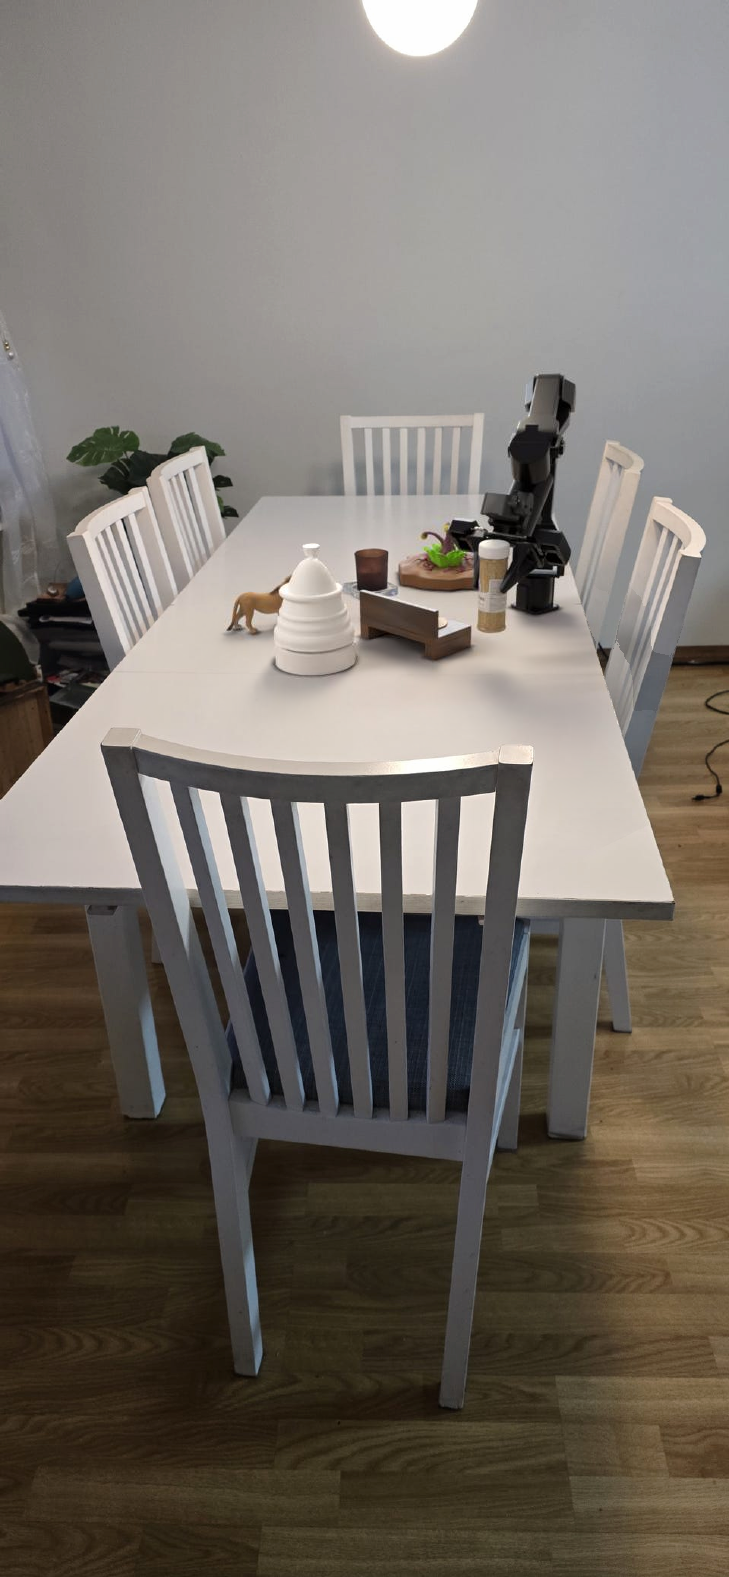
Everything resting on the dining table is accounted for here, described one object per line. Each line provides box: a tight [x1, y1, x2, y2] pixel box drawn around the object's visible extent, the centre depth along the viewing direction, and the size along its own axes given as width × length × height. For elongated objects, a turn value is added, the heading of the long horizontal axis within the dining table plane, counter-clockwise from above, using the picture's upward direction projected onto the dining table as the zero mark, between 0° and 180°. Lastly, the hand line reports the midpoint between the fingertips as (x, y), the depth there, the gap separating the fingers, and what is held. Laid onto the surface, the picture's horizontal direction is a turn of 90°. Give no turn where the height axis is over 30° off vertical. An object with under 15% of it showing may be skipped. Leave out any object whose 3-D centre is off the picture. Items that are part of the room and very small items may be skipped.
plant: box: [398, 521, 479, 591], centre depth 197 cm, size 20×20×11 cm
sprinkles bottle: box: [476, 540, 511, 634], centre depth 150 cm, size 5×5×13 cm
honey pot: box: [273, 543, 357, 676], centre depth 155 cm, size 13×13×18 cm
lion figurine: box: [226, 573, 293, 634], centre depth 172 cm, size 15×5×9 cm, turn 110°
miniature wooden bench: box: [358, 589, 472, 661], centre depth 164 cm, size 9×17×8 cm, turn 44°
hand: (488, 590), depth 149 cm, fingers closed on sprinkles bottle, 4 cm apart
